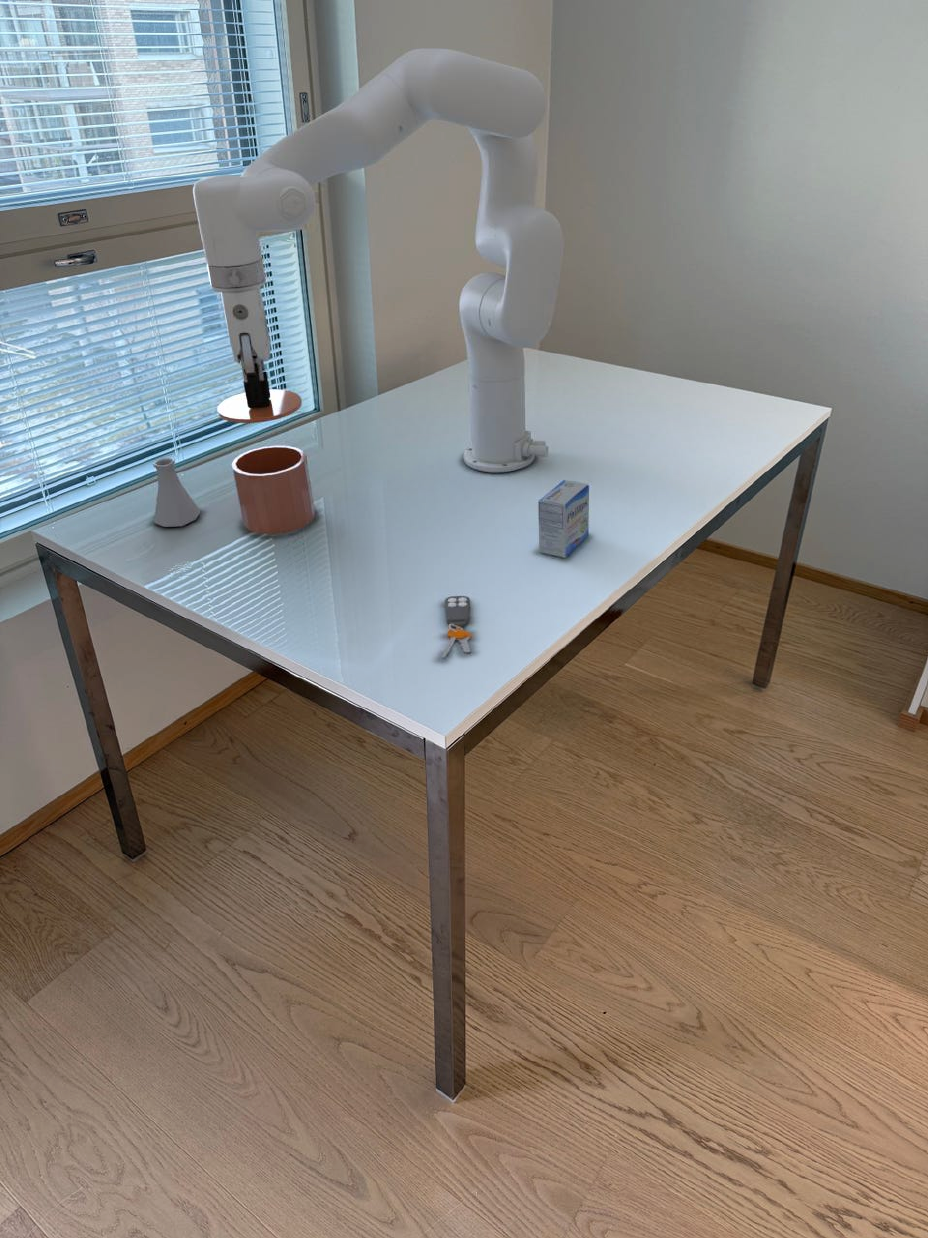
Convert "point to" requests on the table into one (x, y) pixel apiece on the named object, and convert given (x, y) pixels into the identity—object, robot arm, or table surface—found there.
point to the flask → (172, 497)
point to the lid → (240, 413)
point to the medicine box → (563, 518)
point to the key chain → (457, 621)
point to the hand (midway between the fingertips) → (259, 401)
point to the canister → (273, 489)
